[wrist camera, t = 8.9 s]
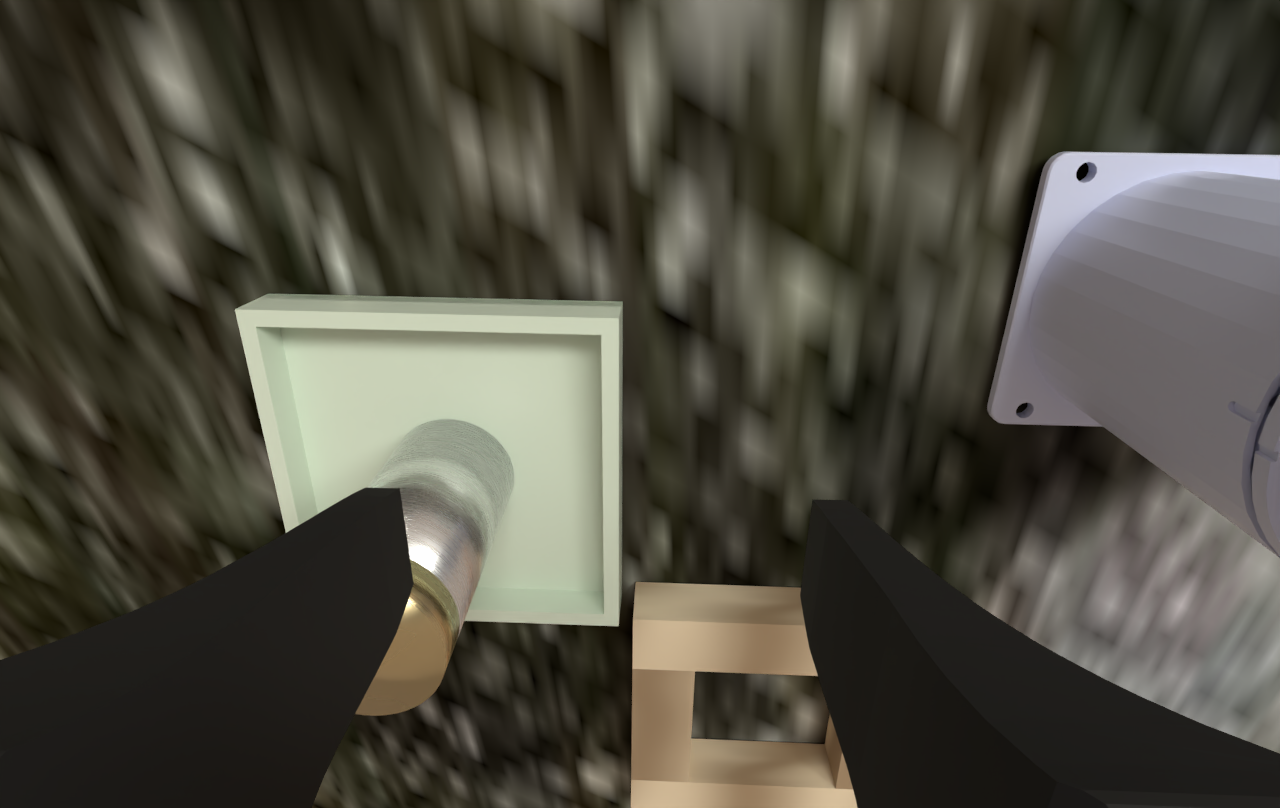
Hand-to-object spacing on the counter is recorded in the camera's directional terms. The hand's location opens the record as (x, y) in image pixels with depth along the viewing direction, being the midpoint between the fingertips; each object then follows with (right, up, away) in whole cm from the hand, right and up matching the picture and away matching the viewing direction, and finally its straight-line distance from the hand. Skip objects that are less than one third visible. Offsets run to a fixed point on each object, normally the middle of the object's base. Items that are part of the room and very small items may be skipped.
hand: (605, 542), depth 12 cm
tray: (-5, +1, +11) cm, 13 cm away
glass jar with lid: (-6, 0, +11) cm, 12 cm away
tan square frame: (+5, -9, +15) cm, 18 cm away
